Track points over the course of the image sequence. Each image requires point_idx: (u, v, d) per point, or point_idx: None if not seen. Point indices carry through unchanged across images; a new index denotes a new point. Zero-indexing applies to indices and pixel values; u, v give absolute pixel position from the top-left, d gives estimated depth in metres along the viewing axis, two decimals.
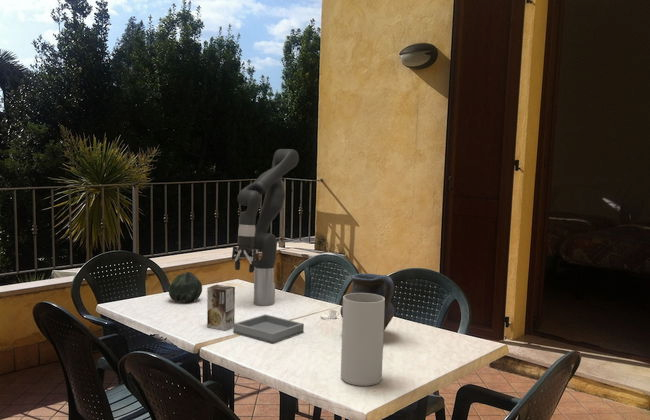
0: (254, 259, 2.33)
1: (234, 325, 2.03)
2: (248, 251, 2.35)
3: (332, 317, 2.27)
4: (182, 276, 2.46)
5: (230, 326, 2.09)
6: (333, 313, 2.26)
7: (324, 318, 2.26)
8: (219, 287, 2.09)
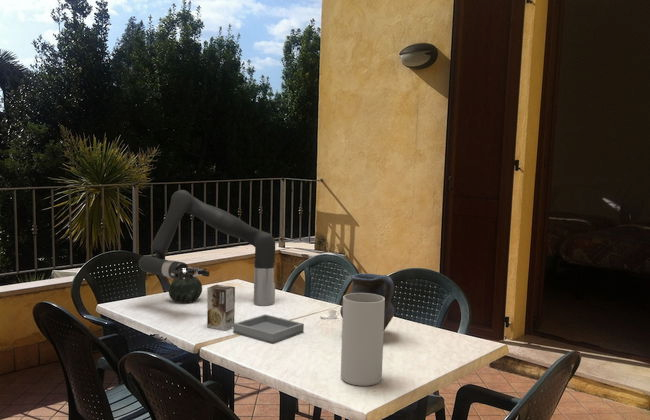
0: (177, 278, 2.14)
1: (234, 325, 2.03)
2: None
3: (332, 317, 2.27)
4: None
5: (230, 326, 2.09)
6: (333, 313, 2.27)
7: (324, 318, 2.26)
8: (219, 287, 2.09)
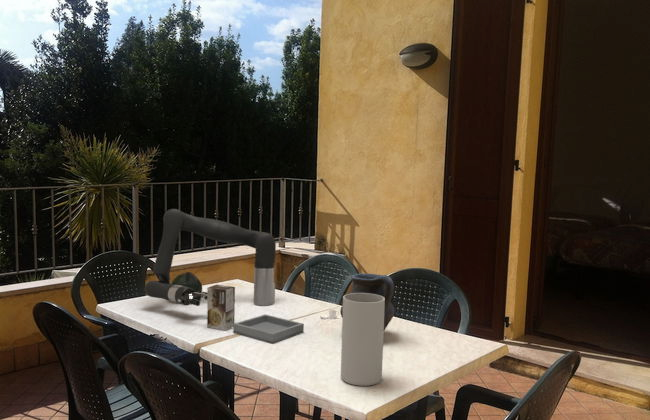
0: (183, 304, 2.13)
1: (234, 325, 2.03)
2: None
3: (332, 317, 2.27)
4: (182, 276, 2.46)
5: (230, 326, 2.09)
6: (333, 313, 2.27)
7: (324, 318, 2.26)
8: (219, 287, 2.09)
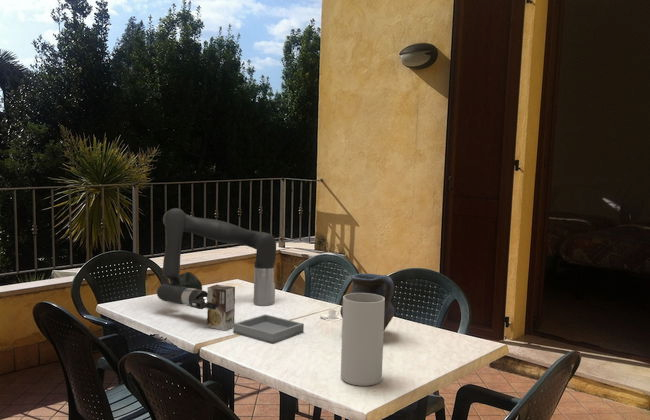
0: (199, 308, 2.08)
1: (234, 325, 2.03)
2: None
3: (332, 317, 2.27)
4: (182, 276, 2.46)
5: (230, 326, 2.09)
6: (333, 313, 2.27)
7: (324, 318, 2.26)
8: (219, 287, 2.09)
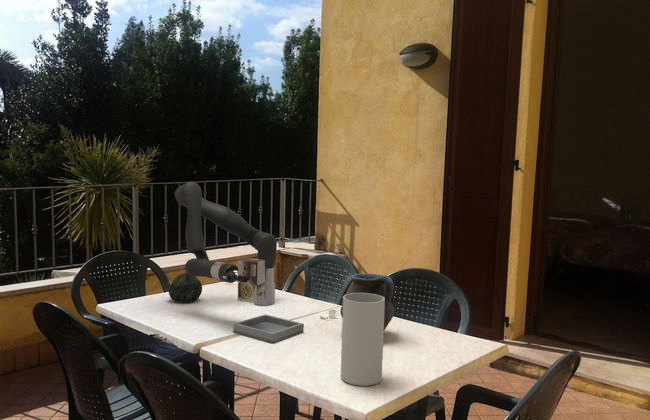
0: (230, 281, 2.03)
1: (234, 325, 2.03)
2: None
3: (331, 317, 2.27)
4: (182, 276, 2.46)
5: (261, 300, 2.04)
6: (332, 313, 2.27)
7: (323, 318, 2.26)
8: (250, 260, 2.04)
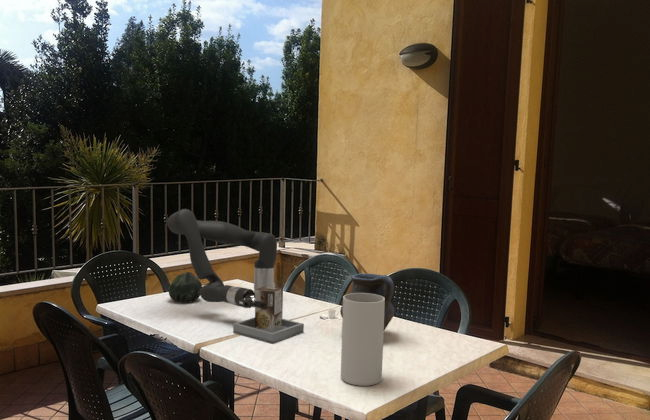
0: (246, 307, 2.02)
1: (234, 325, 2.03)
2: None
3: (331, 317, 2.27)
4: (182, 276, 2.46)
5: (278, 329, 2.03)
6: (332, 313, 2.27)
7: (323, 318, 2.27)
8: (267, 289, 2.04)
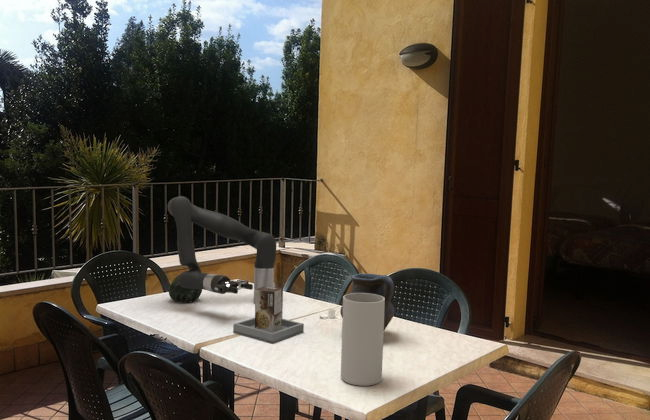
0: (221, 292, 2.11)
1: (234, 325, 2.03)
2: None
3: (331, 316, 2.28)
4: None
5: (278, 329, 2.03)
6: (332, 312, 2.27)
7: (323, 317, 2.27)
8: (267, 289, 2.03)
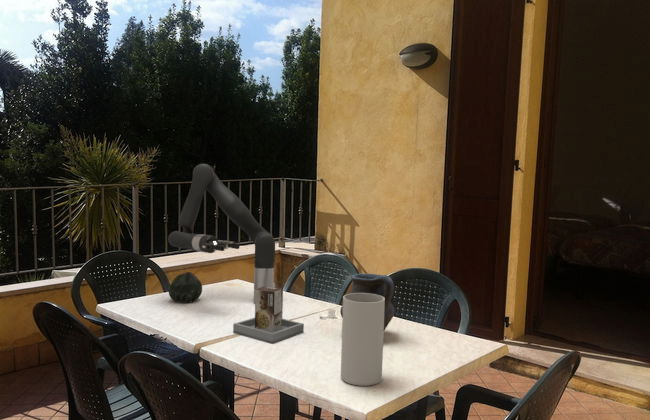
0: (208, 250, 2.19)
1: (234, 325, 2.03)
2: None
3: (331, 316, 2.28)
4: (182, 276, 2.46)
5: (278, 329, 2.03)
6: (332, 312, 2.27)
7: (323, 317, 2.27)
8: (267, 289, 2.03)
